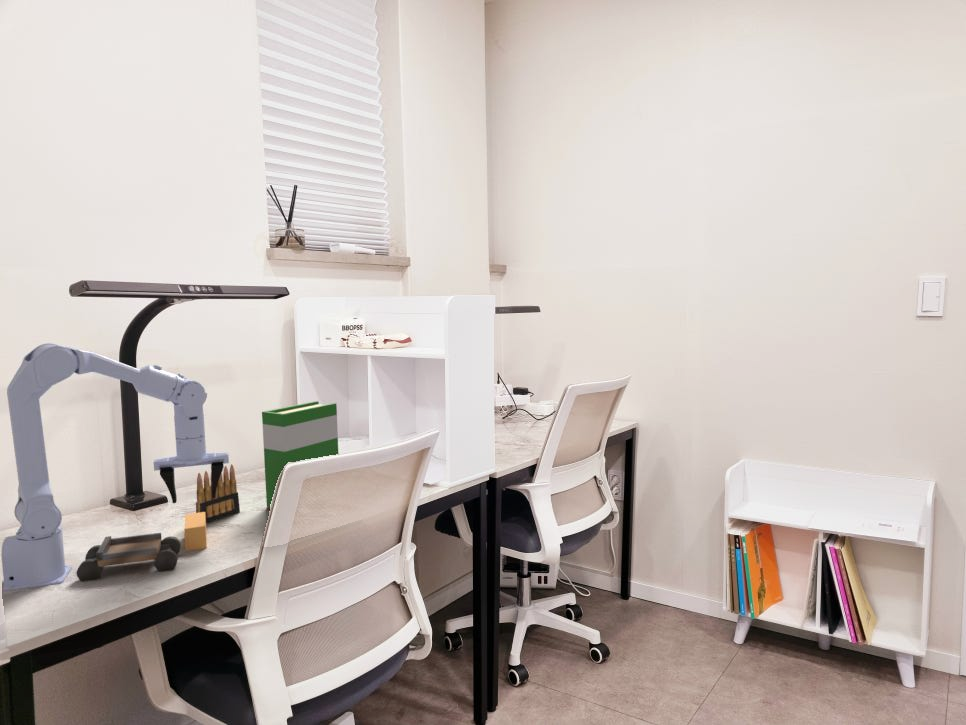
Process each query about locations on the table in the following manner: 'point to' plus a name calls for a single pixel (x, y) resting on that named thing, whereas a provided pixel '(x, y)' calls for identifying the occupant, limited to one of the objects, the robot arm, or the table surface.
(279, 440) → the hardback book
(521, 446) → the table surface
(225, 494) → the ammunition clip
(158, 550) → the dolly
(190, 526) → the block
